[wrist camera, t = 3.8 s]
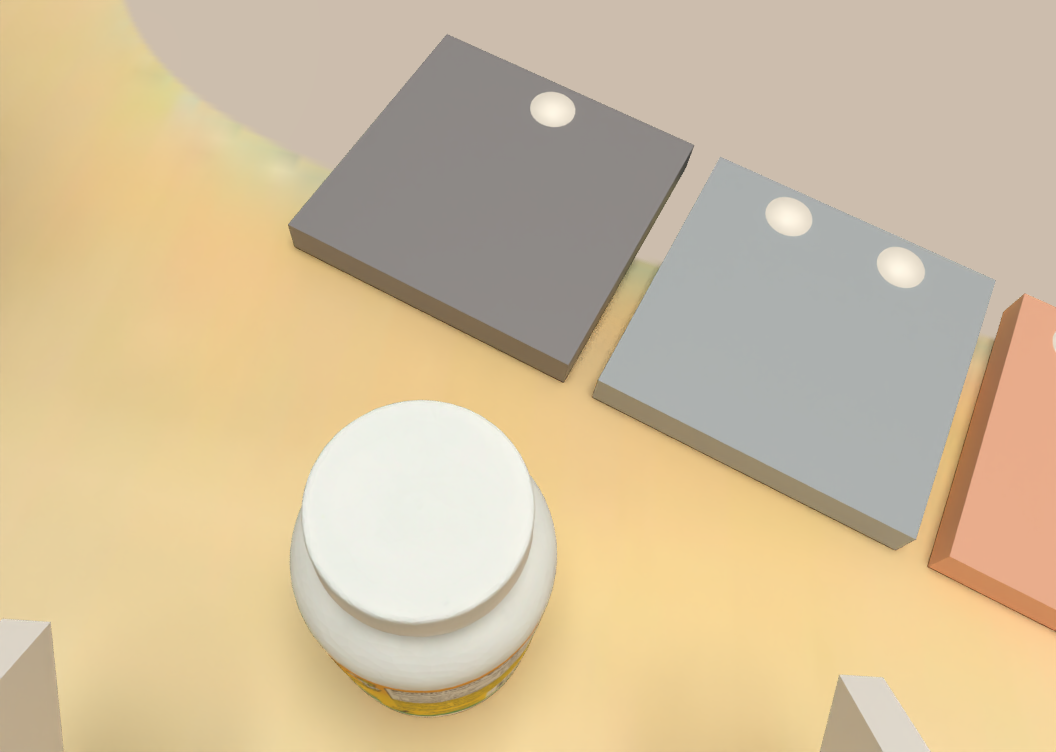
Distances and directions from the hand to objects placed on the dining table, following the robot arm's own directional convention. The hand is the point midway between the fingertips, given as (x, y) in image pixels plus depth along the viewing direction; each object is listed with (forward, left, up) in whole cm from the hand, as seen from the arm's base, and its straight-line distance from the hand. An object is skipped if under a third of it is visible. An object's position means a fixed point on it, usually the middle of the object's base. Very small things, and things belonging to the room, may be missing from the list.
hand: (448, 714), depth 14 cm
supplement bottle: (-2, +2, -8) cm, 9 cm away
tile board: (+4, +15, -8) cm, 18 cm away
